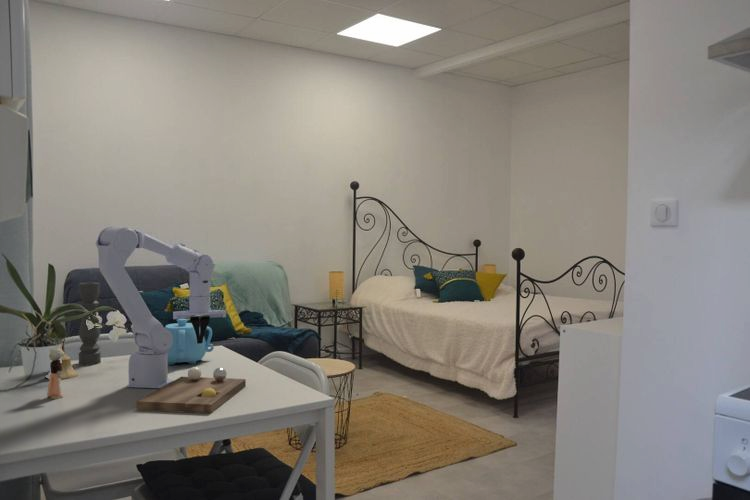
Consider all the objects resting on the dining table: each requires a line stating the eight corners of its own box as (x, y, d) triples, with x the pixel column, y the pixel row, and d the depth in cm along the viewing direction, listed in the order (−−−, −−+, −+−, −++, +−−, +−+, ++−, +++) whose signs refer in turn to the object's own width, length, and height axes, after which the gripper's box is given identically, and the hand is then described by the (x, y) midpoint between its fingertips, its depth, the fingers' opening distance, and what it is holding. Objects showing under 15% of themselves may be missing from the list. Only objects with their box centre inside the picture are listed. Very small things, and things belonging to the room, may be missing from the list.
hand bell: (79, 377, 169) (79, 321, 168) (45, 381, 164) (45, 323, 164) (76, 371, 176) (75, 317, 175) (43, 375, 171) (43, 319, 171)
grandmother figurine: (41, 395, 150) (41, 345, 149) (57, 392, 153) (57, 343, 152) (53, 401, 145) (53, 349, 144) (70, 398, 148) (70, 347, 147)
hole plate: (136, 409, 139) (136, 401, 139) (181, 383, 163) (181, 376, 163) (211, 413, 137) (211, 404, 137) (245, 386, 161) (245, 379, 161)
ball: (206, 407, 144) (196, 396, 144) (211, 404, 147) (201, 394, 147) (216, 396, 144) (206, 386, 144) (221, 394, 147) (211, 384, 147)
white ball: (185, 381, 158) (185, 368, 158) (191, 378, 161) (191, 365, 161) (198, 381, 157) (198, 368, 157) (203, 378, 161) (203, 365, 161)
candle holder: (78, 365, 183) (77, 284, 182) (79, 361, 189) (78, 282, 188) (100, 364, 185) (100, 283, 185) (100, 360, 191) (100, 282, 190)
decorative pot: (144, 362, 189) (143, 319, 189) (186, 354, 202) (186, 314, 202) (176, 369, 180) (176, 324, 179) (218, 360, 193) (218, 318, 193)
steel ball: (211, 382, 157) (211, 369, 157) (216, 379, 160) (216, 366, 160) (223, 382, 157) (223, 369, 156) (228, 379, 160) (228, 366, 160)
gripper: (173, 298, 166) (173, 346, 166) (227, 296, 171) (227, 344, 171) (173, 295, 172) (173, 342, 173) (224, 294, 177) (224, 339, 178)
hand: (199, 342), depth 172 cm, fingers closed
